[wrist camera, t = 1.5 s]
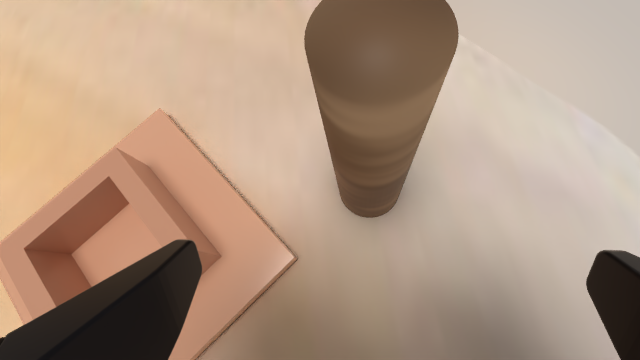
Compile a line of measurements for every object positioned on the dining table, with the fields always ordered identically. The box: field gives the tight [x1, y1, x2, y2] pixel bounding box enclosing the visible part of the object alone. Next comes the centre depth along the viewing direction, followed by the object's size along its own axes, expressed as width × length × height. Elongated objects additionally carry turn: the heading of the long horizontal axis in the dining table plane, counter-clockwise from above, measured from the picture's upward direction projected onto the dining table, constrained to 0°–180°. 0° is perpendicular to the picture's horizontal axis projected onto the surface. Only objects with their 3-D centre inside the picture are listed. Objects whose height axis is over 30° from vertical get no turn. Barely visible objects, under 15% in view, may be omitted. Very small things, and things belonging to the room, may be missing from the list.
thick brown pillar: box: [304, 0, 458, 217], centre depth 14 cm, size 4×4×13 cm
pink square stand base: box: [0, 108, 298, 360], centre depth 19 cm, size 14×14×4 cm
